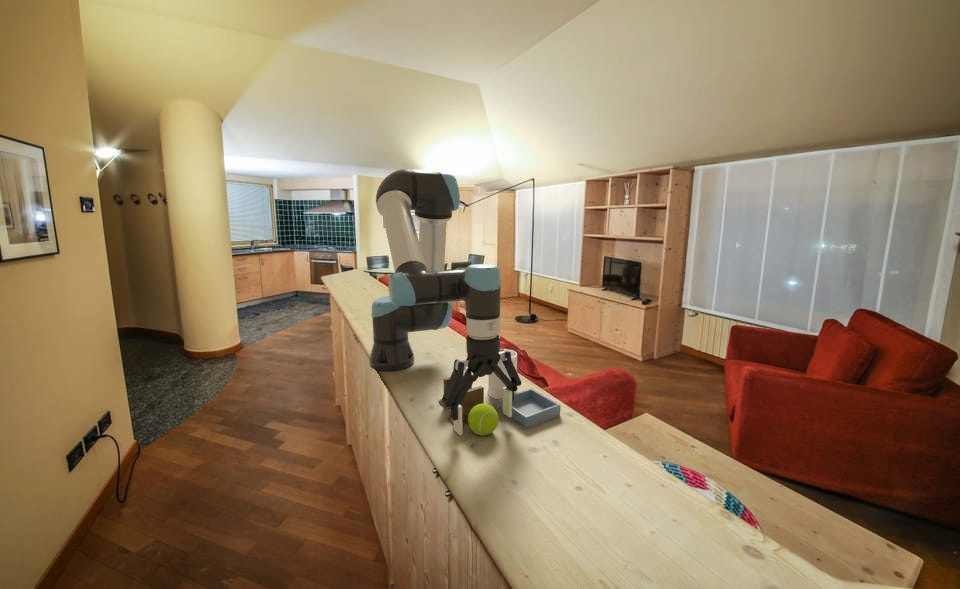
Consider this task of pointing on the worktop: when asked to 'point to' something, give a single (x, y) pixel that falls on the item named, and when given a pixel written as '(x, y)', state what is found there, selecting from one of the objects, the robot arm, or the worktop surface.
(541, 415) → the dish
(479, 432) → the tennis ball
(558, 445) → the worktop surface
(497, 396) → the mug
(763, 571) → the worktop surface
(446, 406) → the bookend
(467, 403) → the bookend
